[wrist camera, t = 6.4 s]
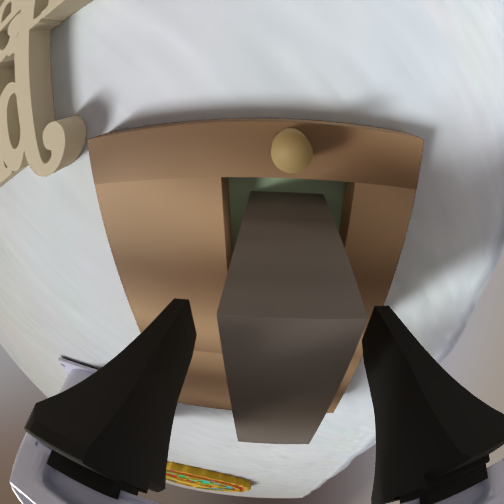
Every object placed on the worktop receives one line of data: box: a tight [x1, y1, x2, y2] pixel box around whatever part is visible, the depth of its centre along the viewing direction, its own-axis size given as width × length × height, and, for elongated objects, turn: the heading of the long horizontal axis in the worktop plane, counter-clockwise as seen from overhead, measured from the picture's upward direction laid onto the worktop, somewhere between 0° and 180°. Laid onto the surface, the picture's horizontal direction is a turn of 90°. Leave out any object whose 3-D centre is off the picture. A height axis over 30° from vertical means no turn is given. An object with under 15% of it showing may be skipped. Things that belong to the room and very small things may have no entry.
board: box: [87, 118, 424, 413], centre depth 14 cm, size 20×13×3 cm, turn 1°
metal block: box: [216, 191, 368, 444], centre depth 10 cm, size 8×3×7 cm, turn 1°
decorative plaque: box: [166, 462, 251, 492], centre depth 50 cm, size 30×3×30 cm
